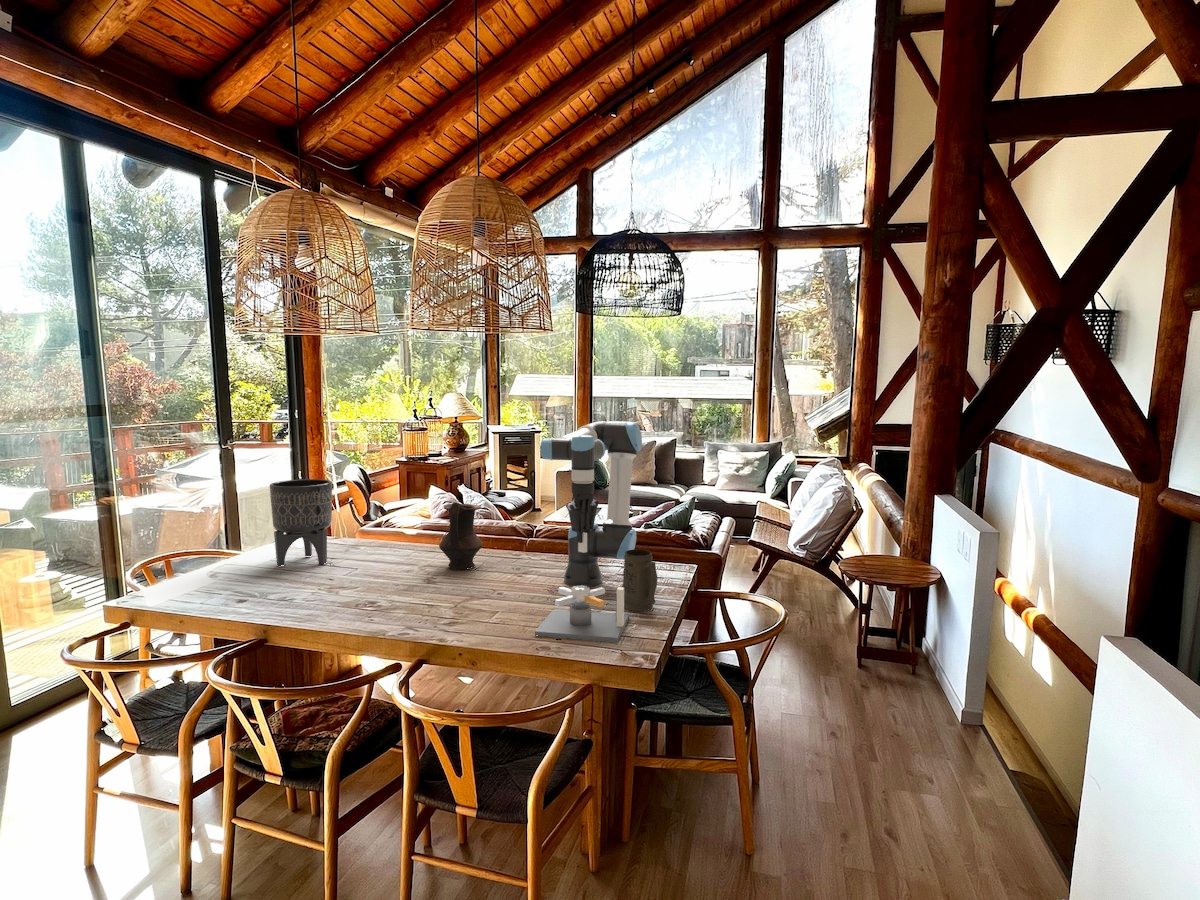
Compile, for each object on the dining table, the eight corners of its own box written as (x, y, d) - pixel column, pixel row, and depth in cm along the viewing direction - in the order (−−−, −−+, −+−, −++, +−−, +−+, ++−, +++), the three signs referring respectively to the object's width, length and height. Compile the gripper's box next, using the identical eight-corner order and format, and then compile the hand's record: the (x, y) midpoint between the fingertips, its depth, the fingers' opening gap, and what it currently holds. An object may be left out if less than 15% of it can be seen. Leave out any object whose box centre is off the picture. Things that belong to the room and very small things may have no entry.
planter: (283, 573, 282) (280, 488, 279) (264, 561, 301) (261, 482, 298) (343, 563, 299) (341, 483, 296) (322, 552, 318) (319, 477, 314)
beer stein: (614, 605, 241) (617, 551, 238) (635, 599, 248) (638, 546, 246) (647, 619, 230) (650, 562, 227) (667, 611, 238) (671, 556, 235)
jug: (445, 561, 302) (444, 494, 300) (487, 562, 302) (486, 495, 299) (432, 574, 281) (430, 502, 279) (476, 574, 281) (475, 503, 278)
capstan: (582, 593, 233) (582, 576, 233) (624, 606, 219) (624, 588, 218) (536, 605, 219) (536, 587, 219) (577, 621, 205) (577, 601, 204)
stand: (553, 613, 233) (553, 574, 232) (628, 618, 228) (629, 579, 226) (534, 636, 211) (534, 593, 210) (617, 642, 206) (617, 599, 205)
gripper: (589, 479, 233) (589, 546, 235) (560, 482, 224) (560, 552, 226) (604, 481, 227) (604, 550, 229) (575, 484, 218) (575, 556, 220)
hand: (582, 551), depth 228 cm, fingers closed
